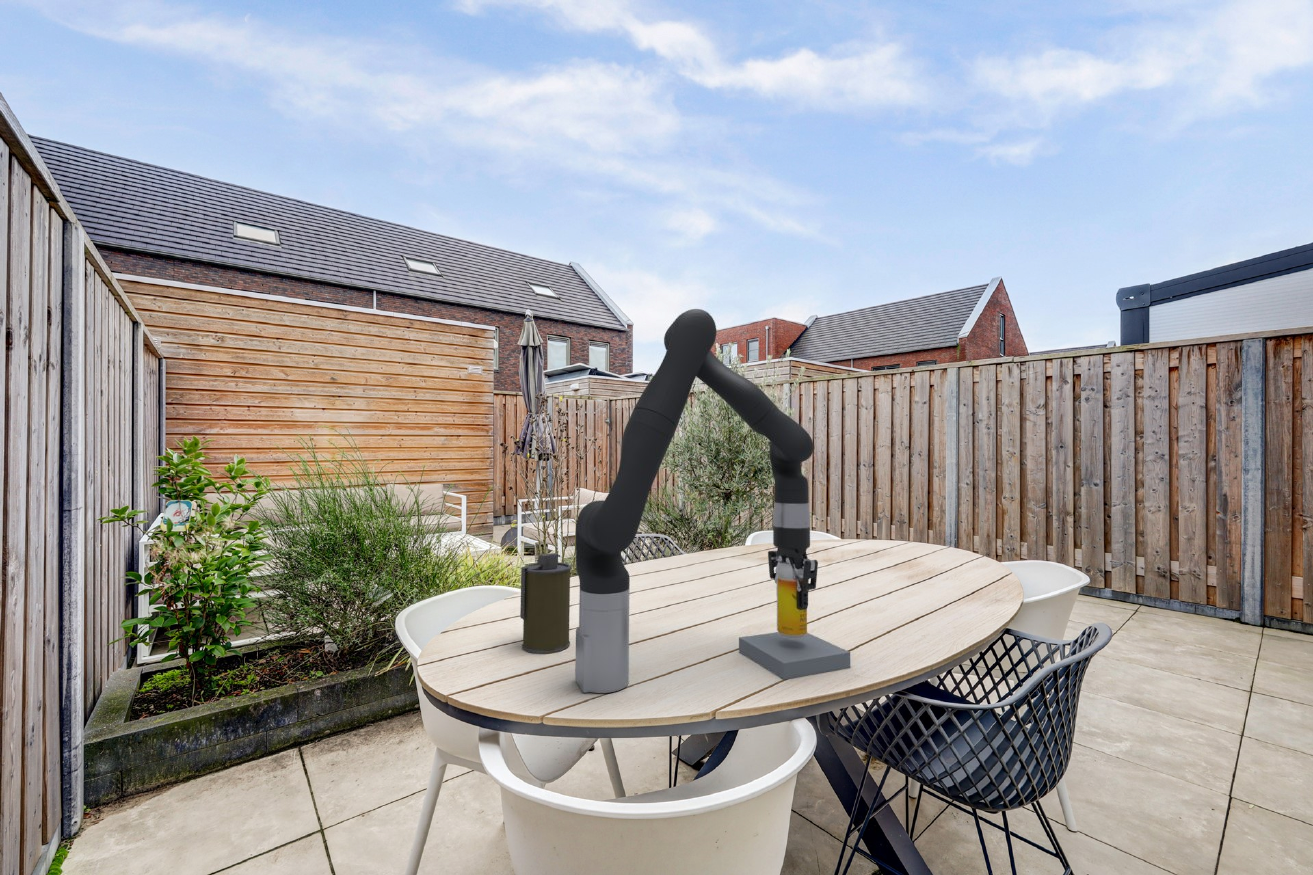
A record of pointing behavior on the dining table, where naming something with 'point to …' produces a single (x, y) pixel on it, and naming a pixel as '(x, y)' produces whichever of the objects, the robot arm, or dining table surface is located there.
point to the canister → (545, 605)
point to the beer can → (789, 604)
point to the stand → (794, 654)
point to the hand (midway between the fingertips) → (791, 604)
